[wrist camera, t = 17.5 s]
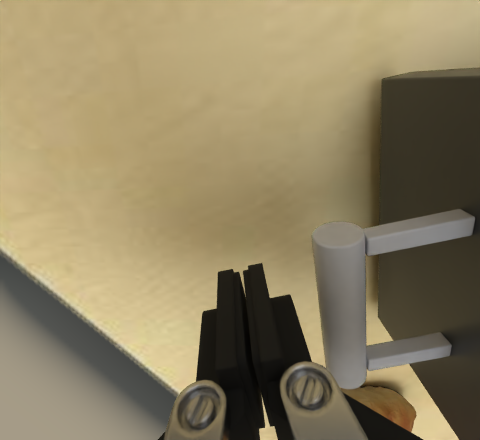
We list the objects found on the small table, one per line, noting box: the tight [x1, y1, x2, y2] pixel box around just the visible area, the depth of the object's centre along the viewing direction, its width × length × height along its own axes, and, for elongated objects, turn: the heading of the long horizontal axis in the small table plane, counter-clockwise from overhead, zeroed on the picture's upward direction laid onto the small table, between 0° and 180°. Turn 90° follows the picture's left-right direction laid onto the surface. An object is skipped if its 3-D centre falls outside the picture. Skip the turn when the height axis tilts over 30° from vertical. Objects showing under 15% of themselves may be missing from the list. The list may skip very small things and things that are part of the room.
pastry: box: [340, 386, 416, 432], centre depth 20 cm, size 9×7×4 cm
